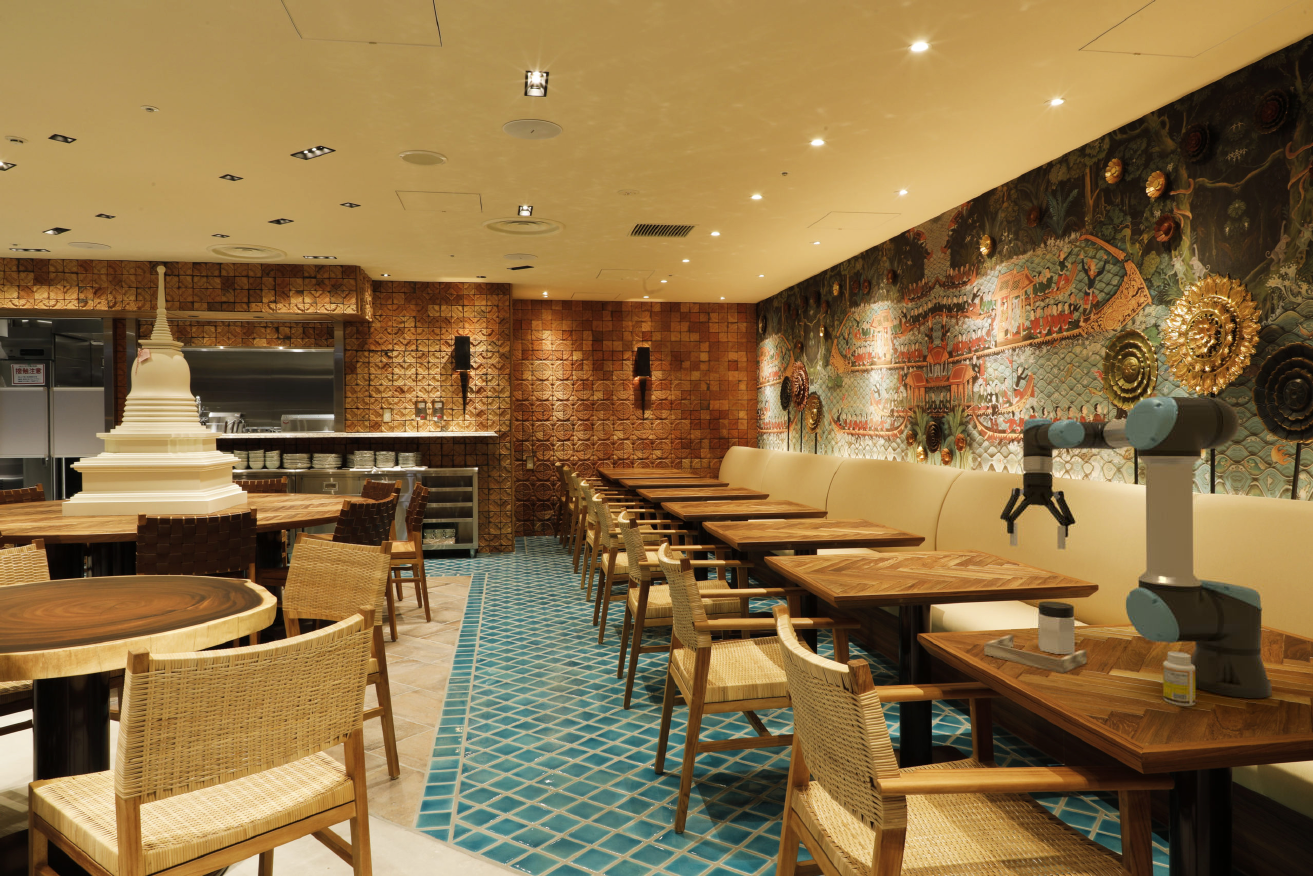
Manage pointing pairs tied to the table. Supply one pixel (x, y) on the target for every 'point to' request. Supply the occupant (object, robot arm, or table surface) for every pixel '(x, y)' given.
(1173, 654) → the supplement bottle
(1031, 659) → the corral
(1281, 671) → the table surface
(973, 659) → the table surface
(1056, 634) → the jar
